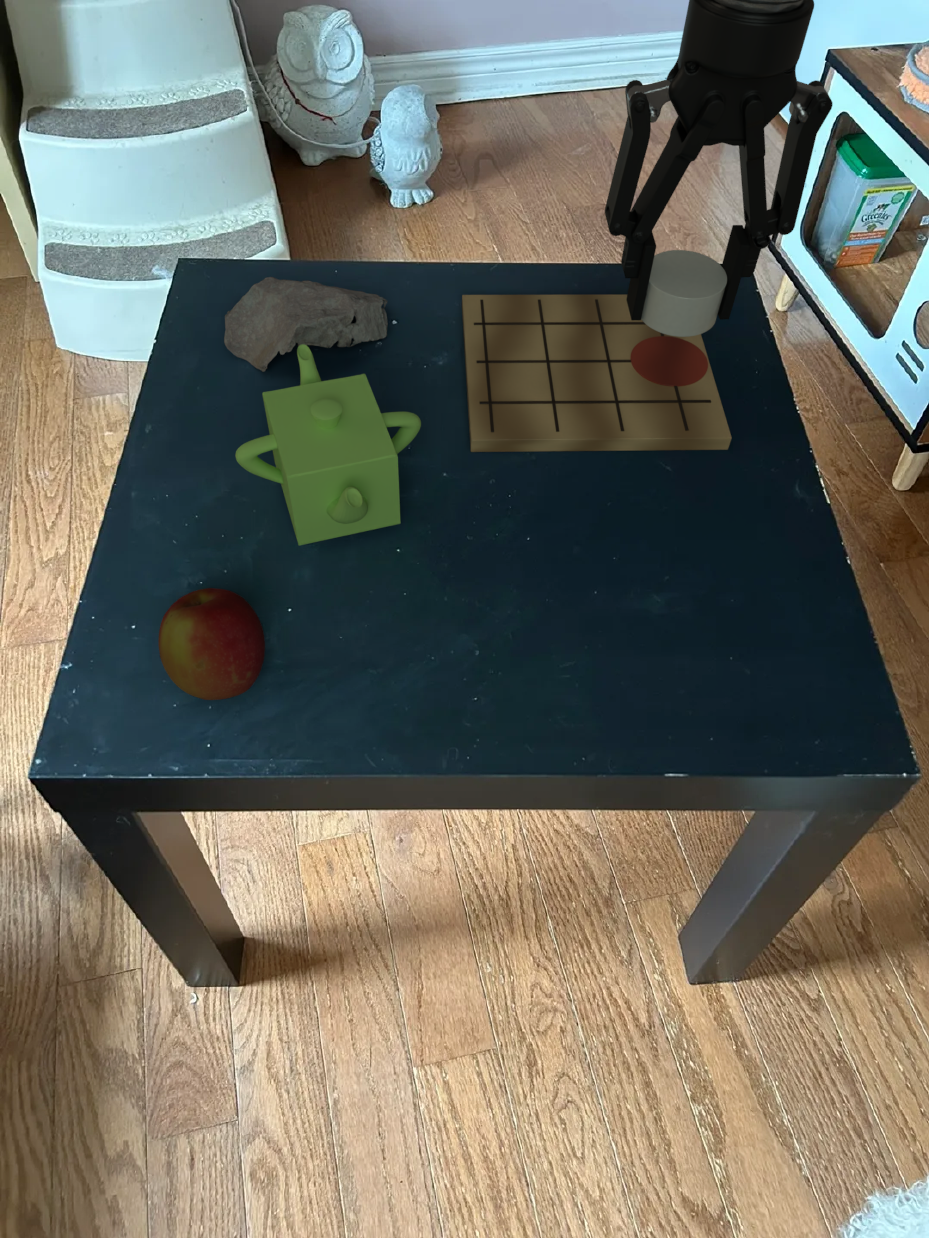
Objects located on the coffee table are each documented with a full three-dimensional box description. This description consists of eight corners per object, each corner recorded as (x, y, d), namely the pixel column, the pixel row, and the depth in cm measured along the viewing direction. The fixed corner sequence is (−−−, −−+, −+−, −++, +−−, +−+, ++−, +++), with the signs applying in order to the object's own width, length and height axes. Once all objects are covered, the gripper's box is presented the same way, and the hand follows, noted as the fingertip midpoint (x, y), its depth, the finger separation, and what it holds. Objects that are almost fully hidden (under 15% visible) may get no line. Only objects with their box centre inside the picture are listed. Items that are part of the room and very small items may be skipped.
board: (686, 306, 103) (689, 293, 102) (727, 450, 90) (732, 436, 89) (461, 307, 102) (462, 293, 101) (470, 452, 89) (471, 439, 87)
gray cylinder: (707, 287, 80) (718, 249, 77) (724, 337, 76) (735, 298, 73) (630, 288, 79) (638, 249, 76) (643, 337, 75) (651, 299, 73)
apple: (286, 640, 76) (272, 575, 69) (253, 727, 71) (235, 667, 64) (193, 624, 76) (171, 558, 70) (154, 710, 72) (127, 648, 65)
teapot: (311, 425, 90) (299, 330, 82) (442, 468, 87) (443, 374, 79) (224, 536, 82) (200, 443, 73) (365, 587, 79) (357, 496, 70)
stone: (334, 426, 95) (392, 345, 104) (356, 363, 88) (416, 283, 98) (195, 351, 94) (266, 275, 103) (207, 281, 87) (281, 208, 97)
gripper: (890, -36, 61) (783, 280, 80) (589, -40, 60) (552, 282, 79) (930, 14, 57) (807, 337, 76) (606, 12, 56) (562, 340, 75)
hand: (677, 309), depth 77 cm, fingers closed on gray cylinder, 6 cm apart
